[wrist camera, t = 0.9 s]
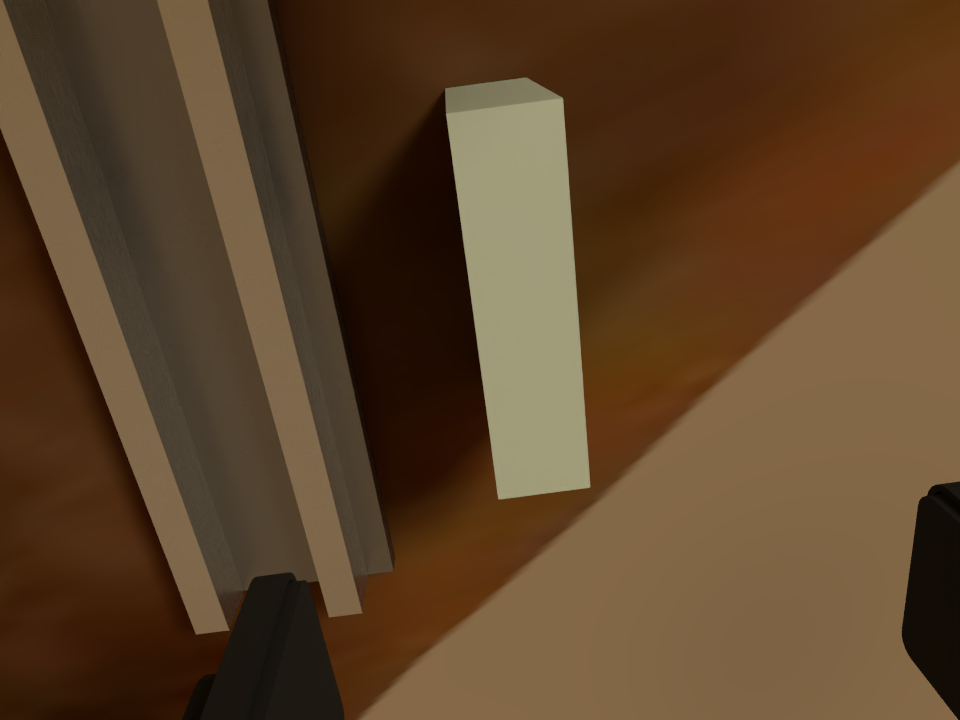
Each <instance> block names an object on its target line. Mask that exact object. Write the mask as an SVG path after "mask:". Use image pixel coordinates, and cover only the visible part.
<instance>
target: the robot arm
mask: <svg viewBox="0 0 960 720" xmlns="http://www.w3.org/2000/svg"><path fill="white" fill-rule="evenodd" d="M902 639H903V643H904V646H905V649H906V651H907V653H908V655H909V656H910V658H911V659H912V661H913V662H914V663H915V664H916V666H917V667H918V668H919V670H920V671H921V672H922V673H923V675H924V676H925V677H926V678H927V680H928V681H929V682H930V684H931V685H932V686H933V688H934V689H935V690H936V691H937V693H938V694H939V695H940V697H941V698H942V699H943V700H944V702H945V703H946V704H947V706H948V707H949V708H950V710H951V711H952V712H953V713H954V715H955V716H956V717H957V718H958V720H960V482H954V483H946V484H939V485H935V486H932V487H931V489H930V490H929V492H928V495H927V496H925V497H922V498H921V499H920V501H919V504H918V511H917V519H916V526H915V534H914V542H913V549H912V557H911V564H910V573H909V580H908V587H907V595H906V603H905V610H904V618H903V626H902ZM182 720H344V710H343V705H342V701H341V698H340V694H339V691H338V687H337V683H336V680H335V676H334V673H333V669H332V666H331V662H330V658H329V655H328V651H327V648H326V644H325V640H324V637H323V633H322V630H321V626H320V623H319V619H318V615H317V612H316V608H315V605H314V601H313V598H312V594H311V590H310V587H309V584H308V582H307V581H306V580H301V581H297V580H296V577H295V576H294V574H293V573H291V572H287V573H280V574H272V575H265V576H258V577H255V578H253V579H252V581H251V583H250V585H249V588H248V591H247V593H246V596H245V599H244V601H243V604H242V607H241V610H240V612H239V615H238V618H237V620H236V623H235V626H234V629H233V631H232V634H231V637H230V639H229V642H228V645H227V647H226V650H225V653H224V656H223V658H222V661H221V664H220V666H219V669H218V672H217V674H211V675H204V676H203V677H202V678H201V679H200V680H199V681H198V683H197V685H196V687H195V689H194V691H193V694H192V696H191V699H190V701H189V704H188V706H187V709H186V711H185V714H184V716H183V719H182Z"/></svg>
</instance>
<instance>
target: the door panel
mask: <svg viewBox="0 0 960 720" xmlns="http://www.w3.org/2000/svg"><path fill="white" fill-rule="evenodd" d="M445 98H446V117H447V124H448V131H449V139H450V146H451V154H452V161H453V168H454V176H455V183H456V190H457V198H458V205H459V212H460V220H461V227H462V234H463V242H464V249H465V257H466V264H467V271H468V279H469V286H470V293H471V301H472V308H473V315H474V323H475V330H476V337H477V345H478V352H479V360H480V367H481V374H482V382H483V389H484V396H485V404H486V411H487V418H488V426H489V433H490V440H491V448H492V455H493V463H494V470H495V477H496V485H497V492H498V499H505V498H513V497H521V496H529V495H536V494H544V493H552V492H559V491H567V490H575V489H582V488H590V477H589V463H588V449H587V434H586V420H585V406H584V392H583V377H582V363H581V349H580V335H579V321H578V306H577V292H576V278H575V264H574V250H573V235H572V221H571V207H570V193H569V178H568V164H567V150H566V136H565V122H564V107H563V98H562V97H560V96H558V95H556V94H555V93H553V92H551V91H549V90H547V89H546V88H544V87H542V86H540V85H538V84H537V83H535V82H533V81H531V80H529V79H528V78H520V79H512V80H505V81H497V82H490V83H483V84H475V85H468V86H460V87H453V88H446V89H445Z"/></svg>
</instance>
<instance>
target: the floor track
mask: <svg viewBox="0 0 960 720" xmlns="http://www.w3.org/2000/svg"><path fill="white" fill-rule="evenodd" d="M0 128H1V131H2V134H3V136H4V139H5V141H6V144H7V147H8V149H9V152H10V154H11V157H12V160H13V162H14V165H15V167H16V170H17V172H18V175H19V178H20V180H21V183H22V185H23V188H24V191H25V193H26V196H27V198H28V201H29V204H30V206H31V209H32V211H33V214H34V216H35V219H36V222H37V224H38V227H39V229H40V232H41V235H42V237H43V240H44V242H45V245H46V248H47V250H48V253H49V255H50V258H51V260H52V263H53V266H54V268H55V271H56V273H57V276H58V279H59V281H60V284H61V286H62V289H63V292H64V294H65V297H66V299H67V302H68V304H69V307H70V310H71V312H72V315H73V317H74V320H75V323H76V325H77V328H78V330H79V333H80V336H81V338H82V341H83V343H84V346H85V348H86V351H87V354H88V356H89V359H90V361H91V364H92V367H93V369H94V372H95V374H96V377H97V380H98V382H99V385H100V387H101V390H102V392H103V395H104V398H105V400H106V403H107V405H108V408H109V411H110V413H111V416H112V418H113V421H114V423H115V426H116V429H117V431H118V434H119V436H120V439H121V442H122V444H123V447H124V449H125V452H126V455H127V457H128V460H129V462H130V465H131V467H132V470H133V473H134V475H135V478H136V480H137V483H138V486H139V488H140V491H141V493H142V496H143V499H144V501H145V504H146V506H147V509H148V511H149V514H150V517H151V519H152V522H153V524H154V527H155V530H156V532H157V535H158V537H159V540H160V543H161V545H162V548H163V550H164V553H165V555H166V558H167V561H168V563H169V566H170V568H171V571H172V574H173V576H174V579H175V581H176V584H177V587H178V589H179V592H180V594H181V597H182V599H183V602H184V605H185V607H186V610H187V612H188V615H189V618H190V620H191V623H192V625H193V628H194V631H195V633H196V634H204V633H212V632H219V631H227V630H229V629H230V627H231V624H232V621H233V618H234V616H235V613H236V610H237V607H238V604H239V602H240V599H241V596H242V593H243V591H245V590H248V588H249V585H250V583H251V581H252V579H253V578H255V577H258V576H265V575H272V574H280V573H287V572H291V573H293V574H294V576H295V577H296V580H297V581H301V580H306V581H307V582H315V581H319V583H320V587H321V590H322V594H323V598H324V601H325V605H326V608H327V612H328V616H329V617H336V616H344V615H351V614H359V613H362V612H363V605H364V597H365V590H366V583H367V576H368V575H369V574H377V573H384V572H392V571H394V562H395V556H394V551H393V546H392V542H391V537H390V533H389V528H388V523H387V519H386V514H385V510H384V505H383V501H382V496H381V491H380V487H379V482H378V478H377V473H376V468H375V464H374V459H373V455H372V450H371V445H370V441H369V436H368V432H367V427H366V423H365V418H364V413H363V409H362V404H361V400H360V395H359V390H358V386H357V381H356V377H355V372H354V368H353V363H352V358H351V354H350V349H349V345H348V340H347V335H346V331H345V326H344V322H343V317H342V312H341V308H340V303H339V299H338V294H337V290H336V285H335V280H334V276H333V271H332V267H331V262H330V257H329V253H328V248H327V244H326V239H325V234H324V230H323V225H322V221H321V216H320V212H319V207H318V202H317V198H316V193H315V189H314V184H313V179H312V175H311V170H310V166H309V161H308V157H307V152H306V147H305V143H304V138H303V134H302V129H301V124H300V120H299V115H298V111H297V106H296V101H295V97H294V92H293V88H292V83H291V79H290V74H289V69H288V65H287V60H286V56H285V51H284V46H283V42H282V37H281V33H280V28H279V23H278V19H277V14H276V10H275V5H274V1H273V0H0Z"/></svg>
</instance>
